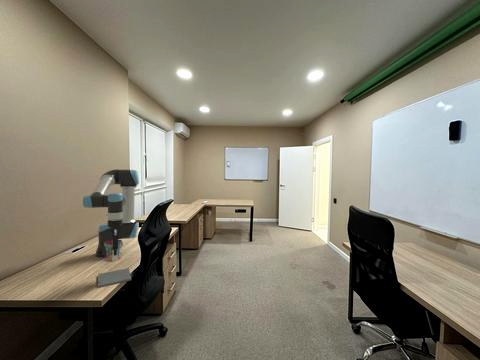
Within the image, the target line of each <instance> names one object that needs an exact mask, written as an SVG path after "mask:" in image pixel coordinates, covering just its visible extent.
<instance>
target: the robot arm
mask: <svg viewBox="0 0 480 360" xmlns="http://www.w3.org/2000/svg"><path fill="white" fill-rule="evenodd" d="M139 183H140V179H139V174H138V171H137V170H135V169H118V168H117V169H112V170H108V171H106V172H105V173H103V174H102V175H101V176H100V178H99V182H98V183H97V185H96V187H95V188H94V190H93V191H92V193H91V194H87V195H84V196H83V198H82V206H83V207H84V208H87V209H88V208H89V209H95V208H96V209H97V208H99V209H100V208H107V214H106V216H107V219H108V220H107V222H106V223H102V224H100V225H99V227H98V231H97V232H98V245H97V247H96V250H95V257H97V258H105V257H106V247H105V245H104V242H106V241H110V240H113V248H112V249H111V250H112V261H114V262H117V260H118V240H127V239H134V238H136V237H137V234H138V229H139V223H138V222H137V220H136V219H135V196H136V195H135V192H136V190H135V189H136V188H137V187H138V185H139ZM114 185H120V188H121V189H122V190H121V191H122V192H110V193H108V192H109V191H110V189H111V187H112V186H114ZM118 261H119V260H118Z"/></svg>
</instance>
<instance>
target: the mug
mask: <svg viewBox="0 0 480 360" xmlns="http://www.w3.org/2000/svg"><path fill="white" fill-rule="evenodd" d="M123 243H124V242H123V239H118V260H117V261H119V260H121V259H122V255H121V249H122V248H123V245H124V244H123ZM104 245H105V247H106V257H104V262H106V263H113V262H115V261H112V250H111V249H112V248H113V240H110V241H106V242H104ZM117 261H116V262H117Z"/></svg>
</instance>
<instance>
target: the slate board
mask: <svg viewBox="0 0 480 360" xmlns="http://www.w3.org/2000/svg"><path fill="white" fill-rule="evenodd" d="M128 281H132V276H131V272H130V268H129V267H128V268H123V269H121V268H120V269H117V270H113V271H106V272H102V273H101V272H100V273H98V277H97V288H103V287H107V286H111V285H115V284H120V283H124V282H128Z"/></svg>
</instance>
